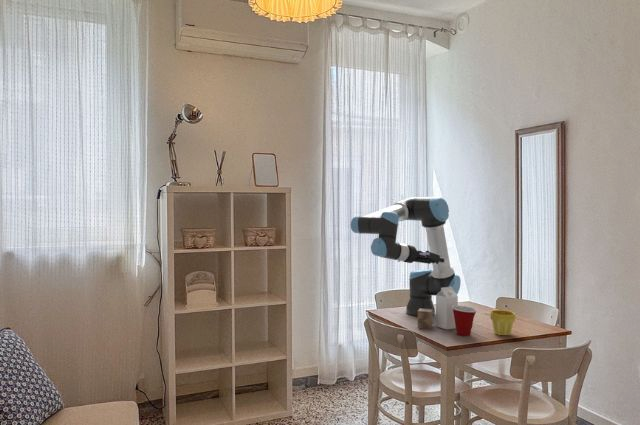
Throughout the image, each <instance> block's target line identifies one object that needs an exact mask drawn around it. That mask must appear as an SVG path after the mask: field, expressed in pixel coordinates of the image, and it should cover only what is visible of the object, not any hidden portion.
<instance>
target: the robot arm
mask: <svg viewBox="0 0 640 425" xmlns="http://www.w3.org/2000/svg"><path fill="white" fill-rule="evenodd" d="M449 209H450V208H449V204H448V203H447V201H446V199H445V198H443V197H440V196H426V197H425V196H424V197H423V196H421V197H419V196H418V197H417V196H414V197H409V198H406V199H403V200H400V201H398V202H395V203H393V204H392V206H389V207H386V208H383V209H381V210H378V211H375V212H372V213H369V214H367V215H363V216H360V215H358V216H354V217H353V218H352V219H351V221H350V229H351V231H352V232H353V233H355V234H361V235H362V234H366V235H378V236H377V237H376V238H373V239H372V242H371V245H370V251H371V253H372V255H374V256H377V257H380V258H382V259H383V258H384V259H388V260H393V261H397V262H402V263H403V262H404V263H407V264H412V263H414V262H415V263H421V264H429V265H430V264H432V269H418V270H417V269H416V270H412V271H410V273H409V279H408V280H409V299H408V301H407V305H406V308H405V312H406V314H408V315H410V316H417V317H418V310H419V309H420V308H421V309H433V316H434V315H435V316H436V307H435V306H434V305H435V304H434V302H433V296H435V297H436V295H437V294H438V293H439V292H440V291H441V288H444V287H452V289H453V290H454V292H455V293H456V294H457V295H458V294H459V292H460V289H461V277H460V275H457V274H455V270H454V268H452V267H451V263H450V256H449V251H448V246H447V244H448V243H447V239H446V232H445V228H444V226H445V224H446V223H447V220H448V219H449V217H450V216H449V215H450V214H449V213H450V210H449ZM404 221H420V222H421V226H422V227H423V228H424V229H425V230H426V238H427V243H428V247H429V250H426V251H425V252H424V251H422V250H417V248H416V247H415V246H414V245H410V244H407V243H401V242H397V235H398V230H399V222H404Z"/></svg>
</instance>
